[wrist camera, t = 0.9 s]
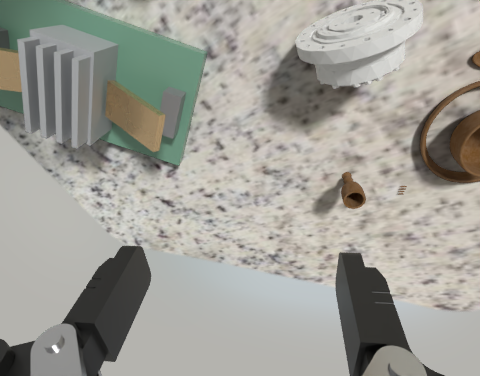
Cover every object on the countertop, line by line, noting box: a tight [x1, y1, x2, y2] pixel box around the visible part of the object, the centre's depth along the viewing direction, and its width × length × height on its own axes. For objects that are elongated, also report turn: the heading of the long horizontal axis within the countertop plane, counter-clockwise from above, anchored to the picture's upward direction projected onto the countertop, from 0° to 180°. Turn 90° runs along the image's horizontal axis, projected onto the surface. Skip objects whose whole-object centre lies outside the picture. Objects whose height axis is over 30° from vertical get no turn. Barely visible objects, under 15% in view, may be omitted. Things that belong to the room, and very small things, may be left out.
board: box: [0, 0, 207, 166], centre depth 33 cm, size 24×14×8 cm, turn 73°
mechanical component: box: [295, 0, 423, 89], centre depth 27 cm, size 10×4×10 cm, turn 109°
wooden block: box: [105, 80, 166, 152], centre depth 32 cm, size 8×4×1 cm, turn 73°
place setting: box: [341, 51, 480, 209], centre depth 33 cm, size 18×20×6 cm
